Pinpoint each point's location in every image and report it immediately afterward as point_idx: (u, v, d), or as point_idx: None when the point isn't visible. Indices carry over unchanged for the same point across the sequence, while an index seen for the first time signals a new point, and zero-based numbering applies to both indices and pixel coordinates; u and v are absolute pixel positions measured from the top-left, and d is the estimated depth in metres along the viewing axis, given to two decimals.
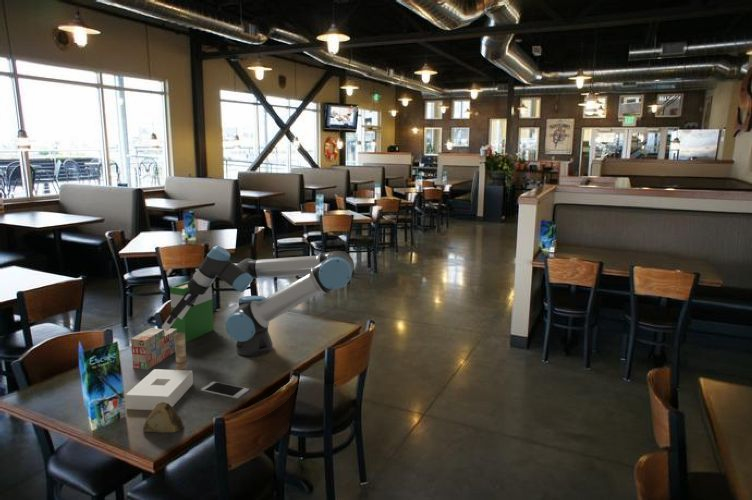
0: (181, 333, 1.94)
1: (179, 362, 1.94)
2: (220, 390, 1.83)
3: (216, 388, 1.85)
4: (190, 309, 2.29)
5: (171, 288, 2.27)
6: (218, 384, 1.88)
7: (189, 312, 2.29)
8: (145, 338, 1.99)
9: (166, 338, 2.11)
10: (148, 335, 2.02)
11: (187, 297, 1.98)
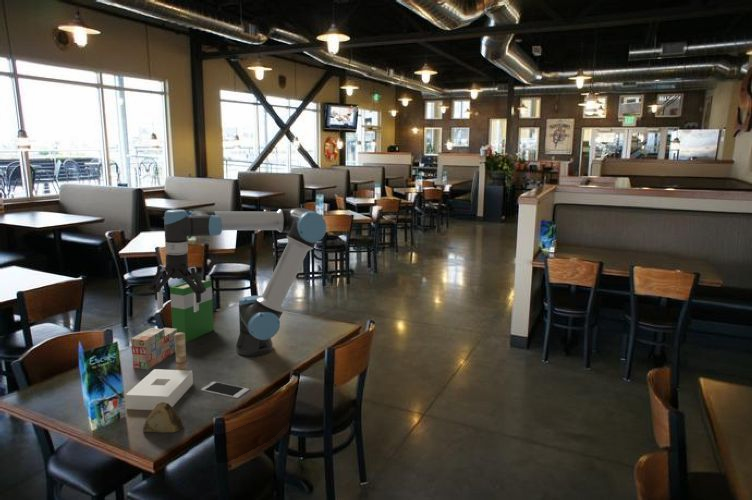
0: (181, 333, 1.94)
1: (179, 362, 1.94)
2: (220, 390, 1.83)
3: (216, 388, 1.85)
4: (190, 309, 2.29)
5: (171, 288, 2.27)
6: (218, 384, 1.88)
7: (189, 312, 2.29)
8: (145, 338, 2.00)
9: (166, 338, 2.11)
10: (148, 335, 2.02)
11: (195, 268, 1.89)
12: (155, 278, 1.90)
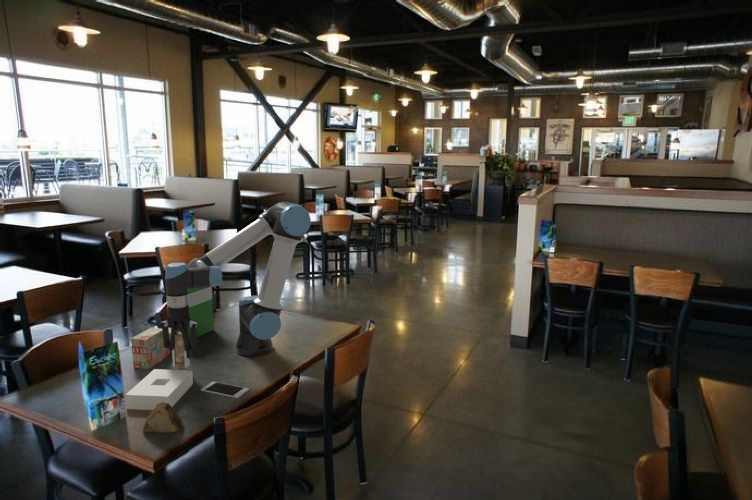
0: (181, 333, 1.94)
1: (179, 362, 1.94)
2: (220, 390, 1.83)
3: (216, 388, 1.85)
4: (190, 309, 2.29)
5: None
6: (218, 384, 1.88)
7: (189, 312, 2.29)
8: (145, 338, 2.00)
9: None
10: (148, 334, 2.03)
11: (196, 324, 1.92)
12: (164, 335, 1.92)
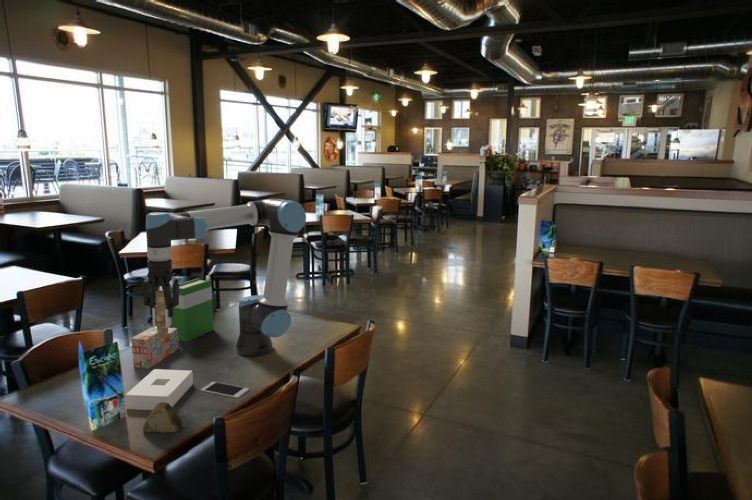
0: None
1: (160, 321, 1.78)
2: (220, 390, 1.83)
3: (216, 388, 1.85)
4: (190, 309, 2.29)
5: (171, 288, 2.27)
6: (218, 384, 1.88)
7: (189, 312, 2.29)
8: (146, 337, 2.00)
9: (166, 337, 2.12)
10: (148, 334, 2.03)
11: (179, 280, 1.77)
12: (144, 291, 1.77)
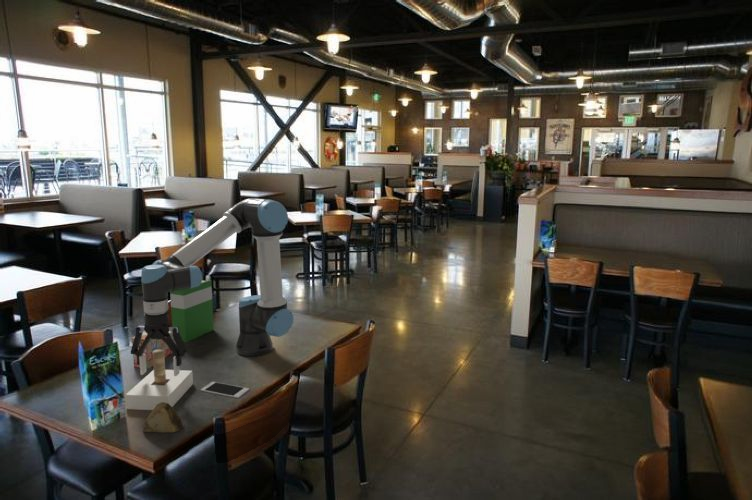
0: (160, 350, 1.77)
1: (158, 382, 1.77)
2: (220, 390, 1.83)
3: (216, 388, 1.85)
4: (190, 309, 2.29)
5: None
6: (218, 384, 1.88)
7: (189, 312, 2.29)
8: None
9: None
10: None
11: (177, 329, 1.75)
12: (135, 341, 1.75)
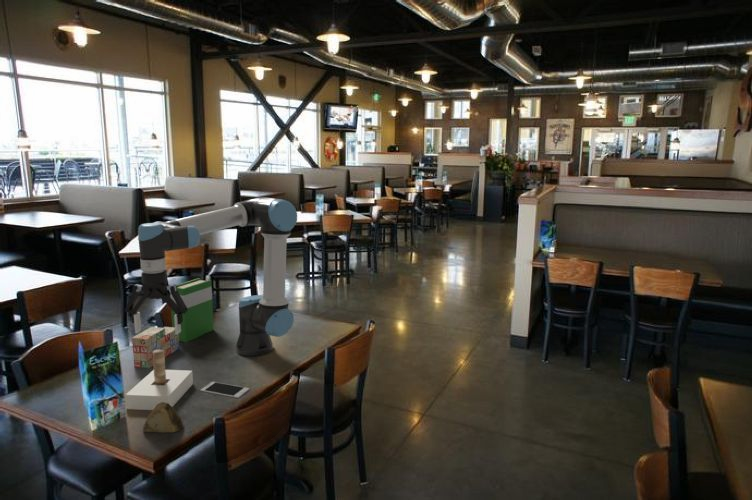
0: (160, 350, 1.77)
1: (158, 382, 1.77)
2: (220, 390, 1.83)
3: (216, 388, 1.85)
4: (190, 309, 2.29)
5: None
6: (218, 384, 1.88)
7: (189, 312, 2.29)
8: (146, 337, 2.01)
9: (167, 337, 2.13)
10: (149, 334, 2.03)
11: (175, 287, 1.72)
12: (131, 299, 1.72)
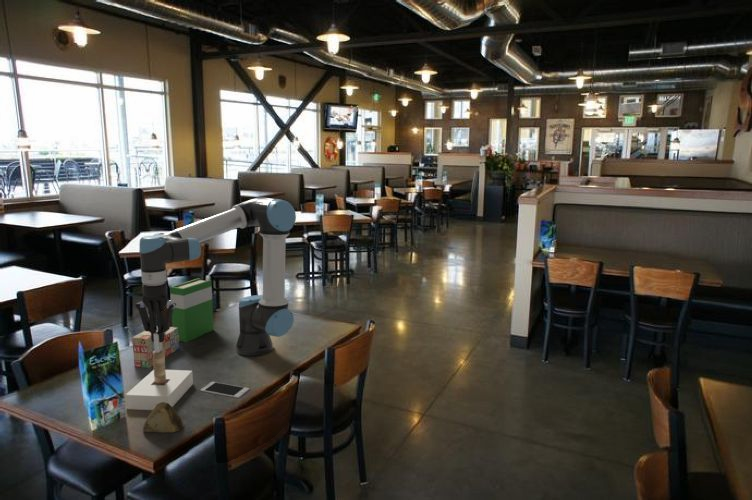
0: None
1: (158, 382, 1.77)
2: (220, 390, 1.83)
3: (216, 388, 1.85)
4: (190, 309, 2.29)
5: (171, 288, 2.27)
6: (217, 384, 1.88)
7: (189, 312, 2.29)
8: (146, 337, 2.01)
9: (167, 337, 2.13)
10: (149, 333, 2.04)
11: (174, 306, 1.73)
12: (142, 317, 1.73)
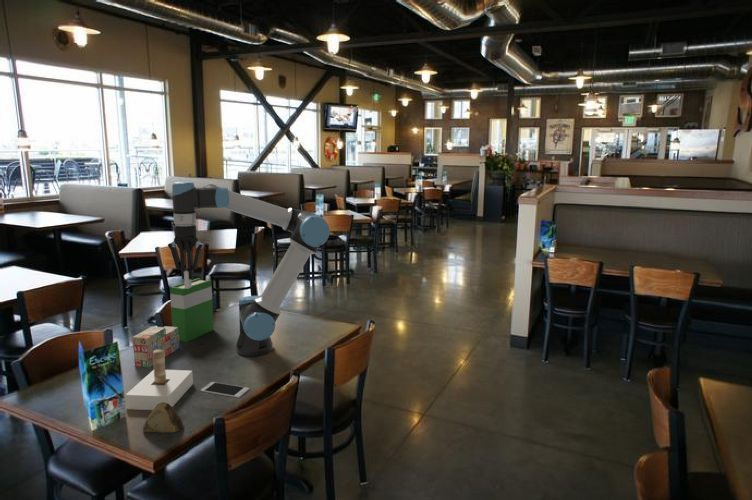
0: (160, 350, 1.77)
1: (158, 382, 1.77)
2: (220, 390, 1.83)
3: (216, 388, 1.85)
4: (190, 309, 2.29)
5: (171, 288, 2.27)
6: (217, 384, 1.88)
7: (189, 312, 2.29)
8: (147, 336, 2.01)
9: (167, 336, 2.13)
10: (149, 333, 2.04)
11: (202, 246, 1.92)
12: (174, 256, 1.92)
